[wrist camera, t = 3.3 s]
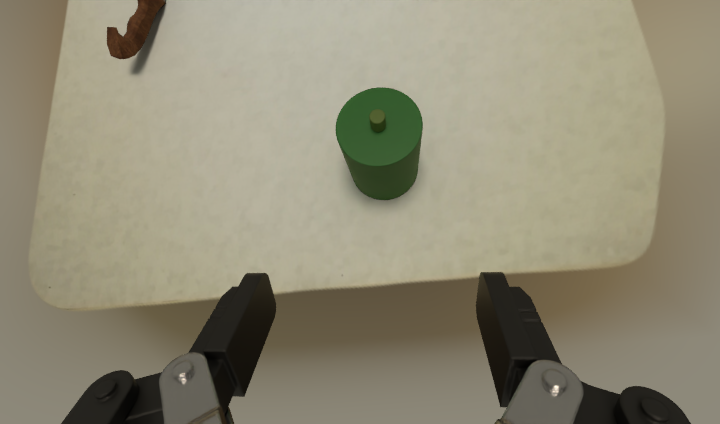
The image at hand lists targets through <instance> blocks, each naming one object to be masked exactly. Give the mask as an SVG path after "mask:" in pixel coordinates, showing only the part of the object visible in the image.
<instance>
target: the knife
mask: <svg viewBox="0 0 720 424" xmlns="http://www.w3.org/2000/svg"><path fill="white" fill-rule="evenodd" d="M164 4H165V0H138V8H137V10H136V12H135V14H134V15H133V16H132V17H130V19H129V21H128V24H127V32H126V34H125V35H124V36H121V35H120V34H119V33H118V31H117V28H115V27H107V45H108V48H109V51H110V54H111V56H113V57H115V58H118V59H127V58H130V57H132V56H134V55H135V54H136V53H137V52H138V51H139V50H140V49H141V48H142V46H143V44H144V42H145V40H146V38H147V36H148V33H149V31H150V28H151V25H152V23H153V20H154V18H155V16H156V14H157V12H158V10H159V9H160V8H161V7H162V6H163V5H164Z"/></svg>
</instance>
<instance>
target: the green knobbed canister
mask: <svg viewBox="0 0 720 424" xmlns="http://www.w3.org/2000/svg"><path fill="white" fill-rule="evenodd" d="M422 128H423V122H422V117H421V113H420V111H419V109H418V107H417V105H416V104H415V103H414V102H413V100H412V99H410V98H409V97H408V96H407V95H405V94H404V93H402V92H400V91H397V90H394V89H390V88H372V89H368V90H365V91H362V92H360V93H358V94H356V95H355V96H354V97H352V98H351V99H350V100H349V101H348V102H347V103H346V104H345V105H344V106H343V108H342V109H341V111H340V113H339V115H338V118H337V122H336V136H337V140H338V143H339V145H340V148H341V150H342V153H343V155H344V158H345V160H346V162H347V165H348V167H349V170H350V172H351V175H352V177H353V180H354V182H355V184H356V186H357V187H358V188H359V189H360V190H361V191H362V192H363V193H364V194H365V195H367V196H369V197H371V198H374V199H379V200H388V199H393V198H396V197H399V196H401V195H402V194H404V193H405V192H407V191H408V190H409V189H410V187H411V186H412V185H413V183H414V181H415V179H416V176H417V171H418V163H419V154H420V146H421V137H422Z"/></svg>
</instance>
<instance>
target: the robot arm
mask: <svg viewBox="0 0 720 424" xmlns="http://www.w3.org/2000/svg"><path fill="white" fill-rule="evenodd" d="M275 313H276V302H275V298H274V294H273V291H272V287H271V284H270V280H269V277H268V275H267V274H266V273H247V274H245V276H244V277H243V279H242V281H241V283H240V284H239V286H238V287H232V288H231V289H230V290H228V291H227V292H226V293H225V294H224V295H223V296H222V297H221V299H220V300H219V302H218V304H217V306H216V309H214V311H213V313H212V314H211V316H210V319H208V321H207V322H206V324H205V326H204V327H203V329H202V331H201V333H200V334H199V336H198V338H197V339H196V341H195V343H194V344H193V346H192V348H191V349H190V351H189V353H187V354H184V355H181V356H179V357H177V358H176V359H174V360H173V361H171V362H170V363H169V364H168V365H167V366H166V367H165V369H164V370H163V372H161V373H158V374H154V375H150V376H146V377H143V378H139V379H134V378H133V376H132V375H131V374H130V373H129V372H128V371H123V370H120V371H115V372H111V373H109V374H106V375H104V376H103V377H101V378H99V379H98V380H96V381H95V382H94V383H93V384H91V386H90V387H89V388H88V389H87V390H86V391H85V392H84V394H83V395H82V396H81V398H80V399H79V400H78V402H77V403H76V404H75V406H74V407H73V408H72V410H71V411H70V412H69V414H68V415H67V416H66V418H65V419H64V421H63V422H62V423H61V424H234V422H233V418H232V415H231V412H230V409H229V407H228V406H229V403H230V401H231V398H232V396H242V397H243V396H245V393H246V391H247V388H248V385H249V383H250V380H251V378H252V375H253V372H254V369H255V367H256V365H257V362H258V359H259V357H260V354H261V351H262V349H263V346H264V344H265V341H266V338H267V336H268V333H269V331H270V328H271V326H272V323H273V320H274V318H275ZM476 313H477V320H478V324H479V327H480V331H481V335H482V339H483V342H484V346H485V350H486V354H487V358H488V361H489V365H490V369H491V372H492V376H493V380H494V384H495V388H496V391H497V395H498V399H499V403H500V407H507V408H506V410H505V412H504V414H503V416H502V418H501V419H500V420H499V419H498V420H497V421H496V422H495V424H691V423H690V422H689V420H688V419H687V417H686V416H685V414H684V413H683V411H682V410H681V409H680V408H679V407H678V406H677V405H676V404H675V403H674V402H673V401H672V400H670V399H669V398H667V397H666V396H664V395H663V394H661V393H659V392H657V391H655V390H652V389H649V388H646V387H640V386H633V387H628V388H626V389H625V390H623V391H622V393H621V395H620V394H616V393H613V392H609V391H607V390H603V389H600V388H596V387H593V386H591V385H588V384H586V383H584V382H582V381H580V380H579V378H578V377H577V376H576V375H575V374H574V373H573V372H572V371H571V370H570V369H569V368H567V367H566V366H564V365H562V363H561V361H560V360H559V357H558V355H557V353H556V351H555V349H554V347H553V345H552V342H551V340H550V338H549V336H548V334H547V332H546V329H545V327H544V326H543V323H542V322H541V319H540V317H539V315H538V312H536V308H535V306H534V304H533V302H532V300H531V298H530V297H529V296H528V295H527V294H526V293H525V292H524V291H523V290H522V289H521V288H520V287H509V285H508V283H507V280H506V278H505V275H504V274H503V273H502V272H481V273H480V277H479V285H478V293H477V301H476Z"/></svg>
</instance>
